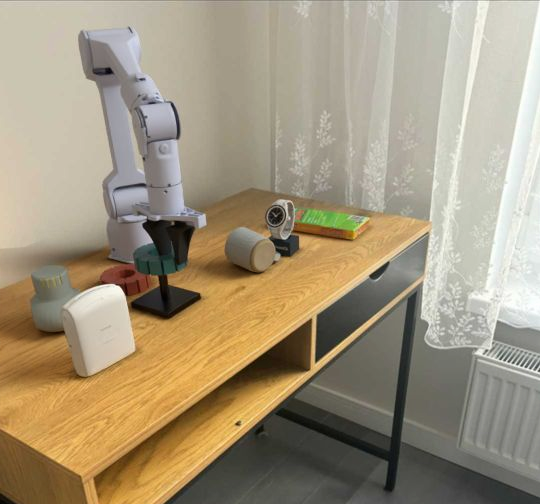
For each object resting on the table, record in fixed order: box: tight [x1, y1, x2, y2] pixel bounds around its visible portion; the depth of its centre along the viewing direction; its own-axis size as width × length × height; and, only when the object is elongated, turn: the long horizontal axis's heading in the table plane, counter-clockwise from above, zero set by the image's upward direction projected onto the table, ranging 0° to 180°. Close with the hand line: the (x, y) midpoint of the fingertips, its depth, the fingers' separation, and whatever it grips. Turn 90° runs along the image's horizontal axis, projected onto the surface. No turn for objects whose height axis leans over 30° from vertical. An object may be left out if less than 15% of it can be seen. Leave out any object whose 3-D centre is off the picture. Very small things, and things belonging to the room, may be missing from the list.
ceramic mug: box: [224, 226, 281, 273], centre depth 123 cm, size 11×8×8 cm
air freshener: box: [29, 264, 81, 333], centre depth 104 cm, size 11×8×10 cm
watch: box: [264, 198, 300, 257], centre depth 128 cm, size 6×8×11 cm
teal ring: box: [133, 242, 189, 277], centre depth 107 cm, size 9×9×3 cm
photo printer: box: [60, 284, 136, 378], centre depth 92 cm, size 10×4×12 cm, turn 140°
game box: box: [292, 206, 371, 241], centre depth 142 cm, size 3×10×20 cm
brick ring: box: [99, 263, 152, 297], centre depth 118 cm, size 9×9×3 cm
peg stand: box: [130, 274, 202, 320], centre depth 110 cm, size 9×9×7 cm
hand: (174, 260), depth 106 cm, fingers closed on teal ring, 3 cm apart
